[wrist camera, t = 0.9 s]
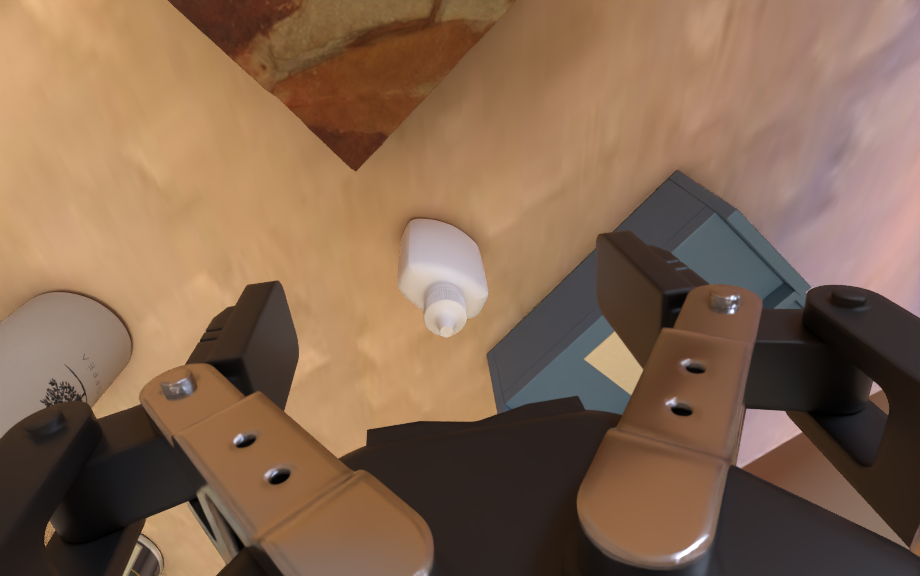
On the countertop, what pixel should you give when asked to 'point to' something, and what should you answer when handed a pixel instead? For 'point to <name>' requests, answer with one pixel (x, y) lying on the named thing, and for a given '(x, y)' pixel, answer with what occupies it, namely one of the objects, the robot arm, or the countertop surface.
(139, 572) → the coffee can
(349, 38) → the decorative slab
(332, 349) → the countertop surface
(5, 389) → the travel mug
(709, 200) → the shelf
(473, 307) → the eye dropper bottle
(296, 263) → the countertop surface
